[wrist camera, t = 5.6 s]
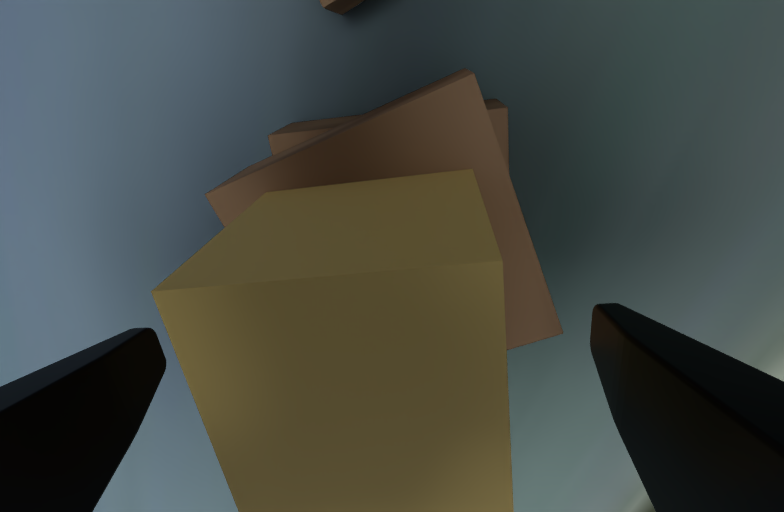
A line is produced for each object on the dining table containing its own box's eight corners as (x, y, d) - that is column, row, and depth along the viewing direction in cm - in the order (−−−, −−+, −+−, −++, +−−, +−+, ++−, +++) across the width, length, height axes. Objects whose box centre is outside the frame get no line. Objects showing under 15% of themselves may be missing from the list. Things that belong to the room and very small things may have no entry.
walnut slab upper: (465, 68, 12) (474, 73, 10) (539, 281, 15) (563, 333, 12) (248, 166, 14) (204, 194, 11) (347, 344, 16) (331, 402, 14)
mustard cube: (472, 169, 10) (502, 260, 6) (484, 347, 12) (513, 518, 8) (265, 192, 11) (151, 291, 7) (308, 359, 13) (243, 522, 9)
